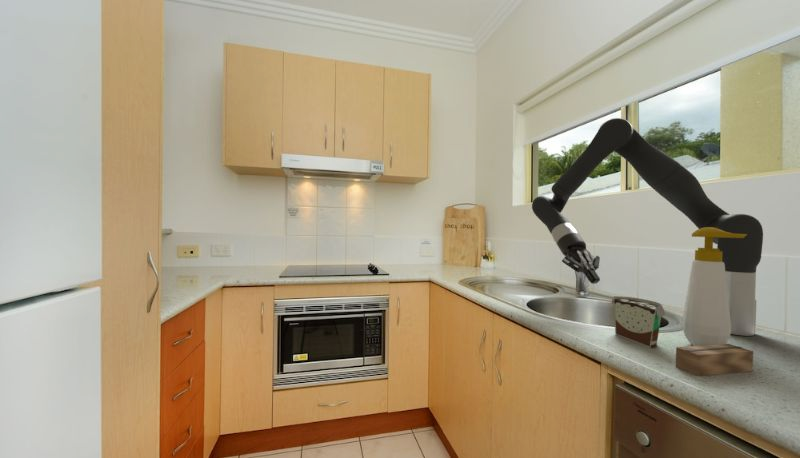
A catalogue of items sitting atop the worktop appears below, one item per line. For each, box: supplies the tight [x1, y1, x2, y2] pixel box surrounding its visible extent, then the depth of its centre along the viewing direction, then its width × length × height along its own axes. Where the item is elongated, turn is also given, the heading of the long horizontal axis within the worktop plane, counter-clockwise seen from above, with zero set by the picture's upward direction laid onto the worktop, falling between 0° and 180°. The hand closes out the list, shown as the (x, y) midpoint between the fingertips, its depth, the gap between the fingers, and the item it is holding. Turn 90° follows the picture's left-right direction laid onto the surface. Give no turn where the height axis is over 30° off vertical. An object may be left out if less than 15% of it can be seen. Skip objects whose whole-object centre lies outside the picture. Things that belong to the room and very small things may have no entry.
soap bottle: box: [681, 227, 747, 346], centre depth 74 cm, size 13×10×29 cm
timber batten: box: [675, 343, 754, 377], centre depth 63 cm, size 14×4×4 cm, turn 102°
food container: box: [611, 295, 666, 349], centre depth 79 cm, size 12×6×10 cm, turn 12°
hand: (596, 282), depth 93 cm, fingers closed
